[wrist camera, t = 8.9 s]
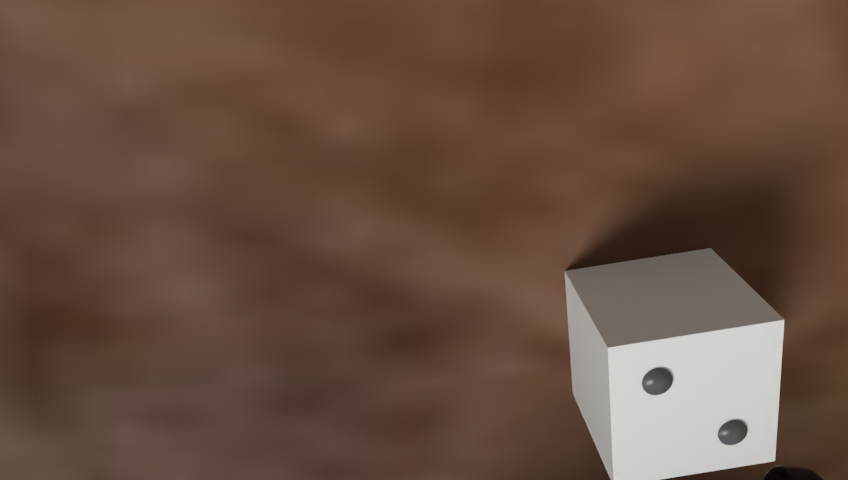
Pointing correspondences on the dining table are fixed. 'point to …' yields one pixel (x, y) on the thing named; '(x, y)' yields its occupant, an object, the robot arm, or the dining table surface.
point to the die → (674, 365)
